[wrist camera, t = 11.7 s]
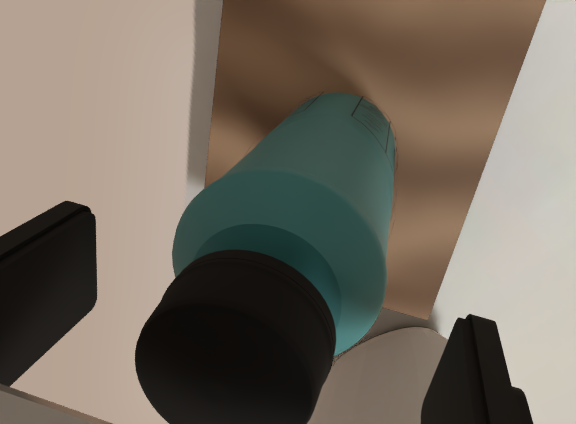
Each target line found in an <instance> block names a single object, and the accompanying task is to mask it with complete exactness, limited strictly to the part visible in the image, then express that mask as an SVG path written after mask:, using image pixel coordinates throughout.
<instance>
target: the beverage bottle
mask: <svg viewBox="0 0 576 424" xmlns="http://www.w3.org/2000/svg"><path fill="white" fill-rule="evenodd" d="M319 93H320V92H319ZM322 93H323V92H322ZM322 93H321V94H322ZM316 94H317V93H316ZM321 94H320V95H319V96H316V95H314V96H316V97H314V98H312V99H311V98H310V100H308V98H305V99H307V100H308V101H307V100H304V101H305V103H302V102H301V103H302V105H298V106H300V107H298V108H297V106H296V108H297V109H296V110H295V111H294V112H293V113H292V112H291V111H293V110H292V109H291V111H290V112H291V113H292V114H290V115H289V116H288V117H287V116H286V119H285V118H284V119H285V120H284V121H283V122H282V121H281V123H280V124H279V125H278V126H277V127H276V128H275V129H274V130H272V131H271V132H270V133H269V134H268V135H267V136H266V137H265V138H264V139H263V140H261V141H260V142H259V143H258V144H257V145H256V147H255V148H254V149H253V150H251V151H250V152H249V153H248V154H247V155H246V156H245V155H244V156H245V157H243V158H242V159H241V160H240V161H239V162H238V163H237V164H236V165H235V166H233V167H232V168H231V169H230V170H229V171H228V172H227V173H225V174H224V175H223V176H222V177H221V178H220V179H218V180H216V181H214V182H213V183H211V184H210V185H209V186H207V187H206V188H204V189H203V190H202V191H201V192H200V193H199V194H198V195H197V196H196V197H195V198H194V199H193V200H192V201H191V203H190V204H189V205H188V206H187V208H186V210H185V211H184V213H183V215H182V217H181V219H180V221H179V224H178V226H177V229H176V234H175V238H174V243H173V251H172V259H173V268H174V273H175V277H176V278H175V279H174V281H173V282H172V283H171V285H170V286H169V287H168V288H167V290H166V292H165V294H164V295H163V298H162V300H161V302H160V303H159V305H158V306H157V307H156V309H155V310H154V312H153V313H152V315H151V316H150V317H149V319H148V320H147V322H146V323H145V325H144V327H143V328H142V331H141V333H140V336H139V339H138V341H137V345H136V350H135V365H136V372H137V376H138V380H139V382H140V385H141V387H142V389H143V391H144V393H145V395H146V397H147V398H148V400H149V401H150V403H151V404H152V406H153V407H154V408H155V409H156V411H157V412H158V413H159V414H160V415H161V416H162V417H163V418H164V419H165V420H166V421H167V422H168V423H169V424H307V423H308V422H309V420H310V419H311V416H312V414H313V412H314V409H315V406H316V404H317V401H318V398H319V395H320V392H321V389H322V386H323V384H324V383H325V381H326V379H327V377H328V375H329V372H330V369H331V366H332V362H333V358H334V356H336V355H338V354H340V353H342V352H344V351H345V350H347V349H349V348H350V347H351V346H353V345H354V344H355V343H357V342H358V341H359V340H360V339H361V338H362V337H363V336H364V335H365V334H366V333H367V332H368V331H369V329H370V328H371V327H372V325H373V324H374V323H375V321H376V319H377V317H378V315H379V313H380V311H381V308H382V305H383V302H384V299H385V293H386V286H387V265H386V257H387V246H388V240H389V239H388V235H389V224H390V219H391V218H392V217H391V215H392V213H391V212H393V211H392V210H393V209H392V200H393V182H394V179H395V178H394V176H395V175H394V173H396V172H394V165H395V156H396V154H395V140H396V137H395V140H394V135H393V131H392V129H391V126H390V123H389V122H388V121H387V119H386V118H385V116H384V115H383V114H384V113H385V112H384V113H383V114H382V111H381V110H379V109H378V107H377V106H376V105H377V104H376V105H375V106H374V104H373V103H370V102H369V101H367V100H365V99H364V98H363V97H364V96H362V97H359V96H356V95H353V94H348V93H336V92H334V93H326V94H322V95H321ZM311 97H312V96H311ZM369 100H370V99H369ZM372 102H373V101H372ZM301 103H300V104H301ZM294 109H295V108H294ZM290 112H289V113H290ZM287 114H288V113H287ZM285 115H286V114H285ZM283 117H284V116H283ZM283 117H282V118H283ZM387 117H388V116H387ZM388 118H389V117H388ZM389 120H390V119H389ZM278 121H279V120H278ZM279 122H280V121H279ZM390 122H391V121H390ZM276 123H278V122H276ZM273 125H275V124H273ZM392 125H393V124H392ZM394 130H395V129H394ZM263 134H264V133H263ZM396 136H397V135H396ZM396 142H397V141H396ZM253 144H254V143H253ZM397 147H398V146H397ZM397 147H396V152H397ZM249 149H250V148H249ZM397 157H398V156H397ZM396 159H397V158H396ZM397 162H398V161H397ZM396 165H397V167H398V164H396ZM396 170H397V169H396ZM396 170H395V171H396ZM395 185H396V184H395ZM396 189H397V188H396ZM396 196H397V193H396ZM396 196H395V197H396ZM395 200H396V199H395ZM395 203H396V202H395ZM395 203H394V204H395ZM394 206H395V205H394ZM394 206H393V207H394ZM394 209H395V208H394ZM395 214H396V213H395ZM392 216H393V215H392ZM394 221H395V220H394ZM393 225H394V224H393ZM391 232H392V231H391ZM390 235H391V234H390Z"/></svg>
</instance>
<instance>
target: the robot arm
mask: <svg viewBox="0 0 576 424" xmlns="http://www.w3.org/2000/svg"><path fill="white" fill-rule="evenodd" d="M96 268H97V264H96V220H95V216H94V214H92V213H91V210H90V208H89V207H87V206H84V205H81V204H77V203H74V202H70V201H64V202H62V203H60V204H58V205H56V206H55V207H53V208H51V209H49V210H47V211H46V212H44V213H42V214H40V215H38V216H36V217H35V218H33V219H31V220H29V221H27V222H26V223H24V224H22V225H20V226H18V227H17V228H15V229H13V230H11V231H9V232H8V233H6V234H4V235H2V236H0V424H112V423H109V422H106V421H104V420H101V419H98V418H95V417H93V416H90V415H87V414H84V413H81V412H79V411H76V410H73V409H70V408H67V407H64V406H62V405H59V404H56V403H53V402H50V401H48V400H45V399H42V398H39V397H36V396H33V395H30V394H28V393H25V392H22V391H19V390H16V389H13V388H10V386H11V385H12V384H13V383H14V382H15V381H16V380H17V379H18V378H19V377H20V376H21V375H22V374H23V373H24V372H25V371H27V370H28V369H29V368H30V367H31V366H32V365H33V364H34V363H35V362H36V361H37V360H38V359H40V357H42V356H43V355H44V354H45V353H46V352H47V351H48V350H49V349H50V348H51V347H52V346H53V345H54V344H55V343H57V342H58V341H59V340H60V339H61V338H62V337H63V336H64V335H65V334H66V333H67V332H68V331H70V330H71V329H72V328H73V327H74V326H75V325H76V324H77V323H78V322H79V321H80V320H81V319H82V318H83V317H84V316H86V315H87V313H89V312H90V311H91V310H92V308H93V307H94V305H95V303H96V300H97V269H96ZM421 424H533V421H532V417H531V414H530V410H529V406H528V403H527V399H526V396H525V394H524V392H523V391H522V390H521V389H519V388H515V387H512V386H511V382H510V378H509V374H508V370H507V365H506V361H505V357H504V353H503V349H502V345H501V341H500V337H499V333H498V329H497V325H496V322H495V321H493V320H489V319H486V318H482V317H479V316H475V315H472V314H469V315H468V316H467V317H466V319H463V318H458V319H457V320H456V322H455V324H454V327H453V329H452V332H451V334H450V337H449V339H448V342H447V344H446V346H445V349H444V351H443V354H442V356H441V359H440V361H439V364H438V366H437V368H436V371H435V373H434V376H433V378H432V381H431V383H430V386H429V388H428V390H427V393H426V395H425V398H424V401H423V404H422V409H421Z"/></svg>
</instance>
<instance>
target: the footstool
mask: <svg viewBox="0 0 576 424" xmlns="http://www.w3.org/2000/svg"><path fill="white" fill-rule="evenodd" d="M545 2H546V0H223V8H222V18H221V28H220V38H219V48H218V58H217V68H216V78H215V88H214V98H213V108H212V118H211V128H210V138H209V148H208V158H207V168H206V178H205V188H206V187H207V186H209V185H210V184H211V183H213V182H214V181H216V180H218V179H220V178H221V177H222V176H223V175H224V174H225V173H227V172H228V171H229V170H230V169H231V168H232V167H233V166H235V165H236V164H237V163H238V162H239V161H240V160H241V159H242V158H243V157H245V156H246V155H247V154H248V153H249V152H250V151H251V150H253V149H254V148H255V147H256V145H257V144H258V143H259V142H260V141H261V140H263V139H264V138H265V137H266V136H267V135H268V134H269V133H270V132H271V131H272V130H274V129H275V128H276V127H277V126H278V125H279V124H280V123H281V121H282V122H283V121H284V120H285V119H286V116H287V117H288V116H289V115H290V114H292V113H293V112H294V111H295V110H296V109H297V108H298V107H300V106H298V105H302V103H305V101H304V100H307V99H305V98H308V100H310V98H311V99H312V98H314V97H316V96H319V95H320V94H321V93H322V92H323V93H322V94H326V93H334V92H336V93H348V94H353V95H356V96H359V97H362V96H364V97H363V98H364V99H365V100H367V101H369V102H370V103H373V104H374V106H375V105H376V104H377V105H376V106H377V107H378V109H379V110H381V111H382V114H383V113H384V112H385V113H384V114H383V115H384V116H385V118H386V119H387V121H388V122H389V123H390V126H391V129H392V131H393V135H394V140H395V137H396V140H395V154H396V156H395V165H394V172H396V173H394V175H395V176H394V178H395V179H394V182H393V200H392V209H393V210H392V211H393V212H391V213H392V215H393V216H392V215H391V217H392V218H391V219H390V224H389V235H388V239H389V240H388V246H387V257H386V265H387V286H386V293H385V299H384V302H383V305H382V308H386V309H390V310H393V311H397V312H400V313H404V314H407V315H411V316H414V317H418V318H421V319H425V320H428V319H429V316H430V313H431V310H432V308H433V305H434V302H435V300H436V297H437V294H438V291H439V289H440V286H441V283H442V281H443V278H444V275H445V273H446V270H447V267H448V264H449V262H450V259H451V256H452V254H453V251H454V248H455V246H456V243H457V240H458V237H459V235H460V232H461V229H462V227H463V224H464V221H465V218H466V216H467V213H468V210H469V208H470V205H471V202H472V200H473V197H474V194H475V191H476V189H477V186H478V183H479V181H480V178H481V175H482V172H483V170H484V167H485V164H486V162H487V159H488V156H489V154H490V151H491V148H492V145H493V143H494V140H495V137H496V135H497V132H498V129H499V127H500V124H501V121H502V118H503V116H504V113H505V110H506V108H507V105H508V102H509V99H510V97H511V94H512V91H513V89H514V86H515V83H516V81H517V78H518V75H519V72H520V70H521V67H522V64H523V62H524V59H525V56H526V53H527V51H528V48H529V45H530V43H531V40H532V37H533V35H534V32H535V29H536V26H537V24H538V21H539V18H540V16H541V13H542V10H543V7H544V5H545ZM319 92H320V93H319ZM316 93H317V94H316ZM322 94H321V95H322ZM314 95H316V96H314ZM311 96H312V97H311ZM369 99H370V100H369ZM308 100H307V101H308ZM372 101H373V102H372ZM301 102H302V103H301ZM300 103H301V104H300ZM296 106H297V108H296ZM294 108H295V109H294ZM291 109H292V110H293V111H291ZM290 111H291V112H292V113H291V112H290ZM289 112H290V113H289ZM287 113H288V114H287ZM285 114H286V115H285ZM283 116H284V117H283ZM387 116H388V117H389V118H388V117H387ZM282 117H283V118H282ZM284 118H285V119H284ZM389 119H390V120H389ZM278 120H279V121H280V122H279V121H278ZM390 121H391V122H390ZM276 122H278V123H276ZM273 124H275V125H273ZM392 124H393V125H392ZM394 129H395V130H394ZM263 133H264V134H263ZM396 135H397V136H396ZM396 141H397V142H396ZM253 143H254V144H253ZM397 146H398V147H397ZM396 147H397V152H396ZM249 148H250V149H249ZM244 155H245V156H244ZM397 156H398V157H397ZM396 158H397V159H396ZM397 161H398V162H397ZM396 164H398V167H397V165H396ZM396 169H397V170H396ZM395 170H396V171H395ZM395 184H396V185H395ZM396 188H397V189H396ZM396 193H397V196H396ZM395 196H396V197H395ZM395 199H396V200H395ZM395 202H396V203H395ZM394 203H395V204H394ZM394 205H395V206H394ZM393 206H394V207H393ZM394 208H395V209H394ZM395 213H396V214H395ZM394 220H395V221H394ZM393 224H394V225H393ZM391 231H392V232H391ZM390 234H391V235H390Z"/></svg>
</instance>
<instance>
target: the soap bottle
mask: <svg viewBox="0 0 576 424" xmlns="http://www.w3.org/2000/svg"><path fill="white" fill-rule="evenodd" d="M447 342H448V340H447V339H446V338H444V337H443V336H441V335H440V334H438V333H437V332H435V331H433V330H432V329H428V328H422V327H410V328H403V329H399V330H395V331H391V332H388V333H385V334H382V335H379V336H377V337H374V338H372V339H370V340H368V341H366V342H364V343H362V344H360V345H358V346H356V347H354V348H352V349H351V350H350V351H348V352H347V353H345V354H344V355H342V356H341V357H340V358H339V359H338V360H337V361H336V363H335V364H334V366H333V368H332V369H331V371H330V373H329V375H328V377H327V379H326V381H325V383H324V384H323V386H322V389H321V392H320V395H319V398H318V401H317V404H316V406H315V409H314V412H313V414H312V416H311V419H310V420H309V422H308V423H307V424H421V409H422V404H423V401H424V398H425V395H426V393H427V390H428V388H429V386H430V383H431V381H432V378H433V376H434V373H435V371H436V368H437V366H438V364H439V361H440V359H441V356H442V354H443V351H444V349H445V346H446V344H447Z"/></svg>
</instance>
